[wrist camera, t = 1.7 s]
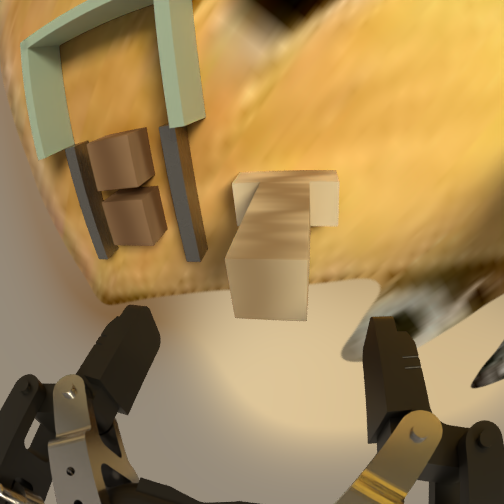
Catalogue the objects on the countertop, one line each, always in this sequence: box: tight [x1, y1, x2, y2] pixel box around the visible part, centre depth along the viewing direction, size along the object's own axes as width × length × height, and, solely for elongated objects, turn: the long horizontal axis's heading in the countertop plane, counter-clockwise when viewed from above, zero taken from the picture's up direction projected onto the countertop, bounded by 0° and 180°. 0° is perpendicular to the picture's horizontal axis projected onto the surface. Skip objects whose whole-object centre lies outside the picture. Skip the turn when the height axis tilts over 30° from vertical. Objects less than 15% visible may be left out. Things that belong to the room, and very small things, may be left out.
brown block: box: [87, 127, 155, 191], centre depth 21 cm, size 4×4×3 cm
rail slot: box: [65, 123, 208, 262], centre depth 23 cm, size 11×11×2 cm
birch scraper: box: [225, 170, 339, 321], centre depth 17 cm, size 7×3×12 cm, turn 96°
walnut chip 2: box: [102, 186, 167, 246], centre depth 24 cm, size 4×4×3 cm
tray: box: [20, 0, 206, 160], centre depth 17 cm, size 14×11×4 cm
